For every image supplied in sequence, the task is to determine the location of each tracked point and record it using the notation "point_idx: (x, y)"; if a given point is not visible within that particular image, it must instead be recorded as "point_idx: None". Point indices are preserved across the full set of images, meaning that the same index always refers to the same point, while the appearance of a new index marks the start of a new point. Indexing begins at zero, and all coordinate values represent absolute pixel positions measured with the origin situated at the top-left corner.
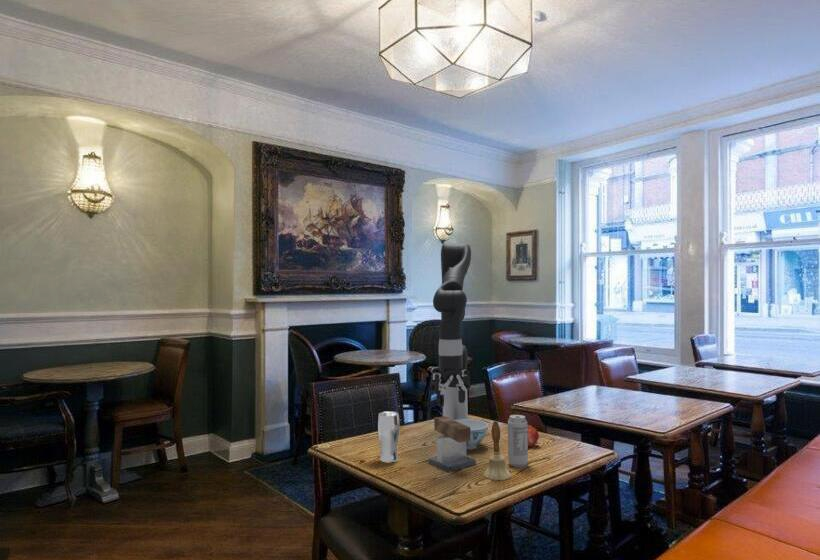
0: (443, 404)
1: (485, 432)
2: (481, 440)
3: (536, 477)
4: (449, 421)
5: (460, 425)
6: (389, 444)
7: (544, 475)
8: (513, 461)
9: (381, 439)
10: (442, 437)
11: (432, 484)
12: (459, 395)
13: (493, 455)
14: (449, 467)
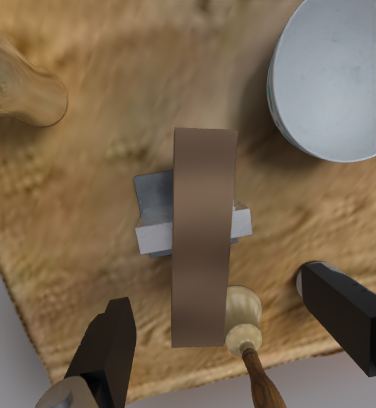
0: (133, 347)
1: (368, 148)
2: (339, 140)
3: (290, 347)
4: (202, 230)
5: (207, 306)
6: None
7: (310, 345)
8: (300, 294)
9: None
10: (150, 242)
11: (82, 301)
12: (335, 303)
13: (237, 345)
14: (152, 257)
